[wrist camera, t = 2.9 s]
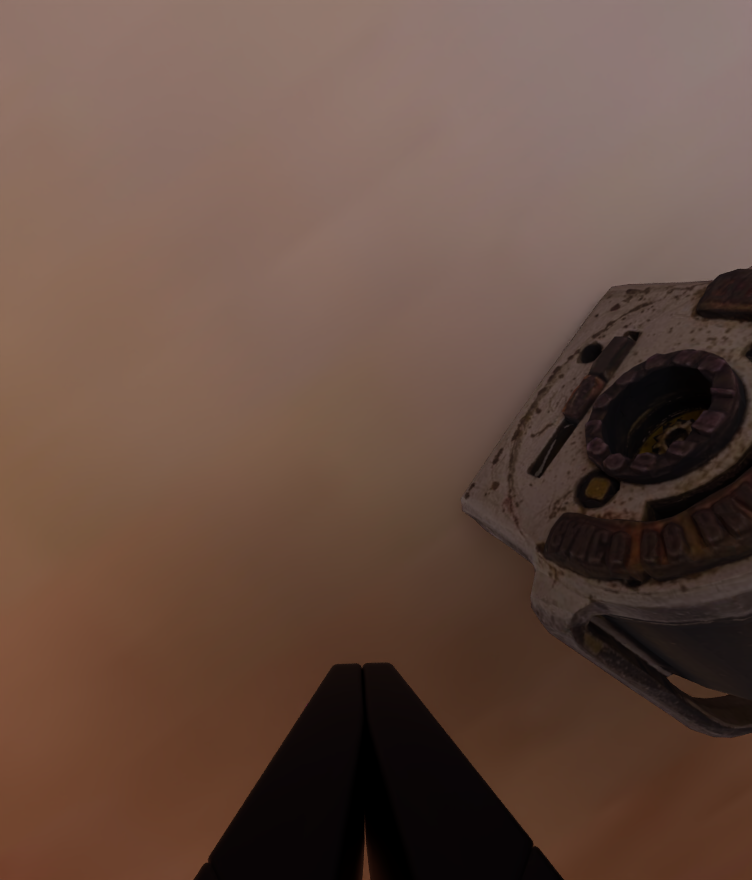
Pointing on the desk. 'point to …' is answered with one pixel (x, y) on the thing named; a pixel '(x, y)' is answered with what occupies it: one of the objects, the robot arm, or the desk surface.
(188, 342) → the desk surface
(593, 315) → the mechanical counter
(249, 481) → the desk surface
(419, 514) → the desk surface
